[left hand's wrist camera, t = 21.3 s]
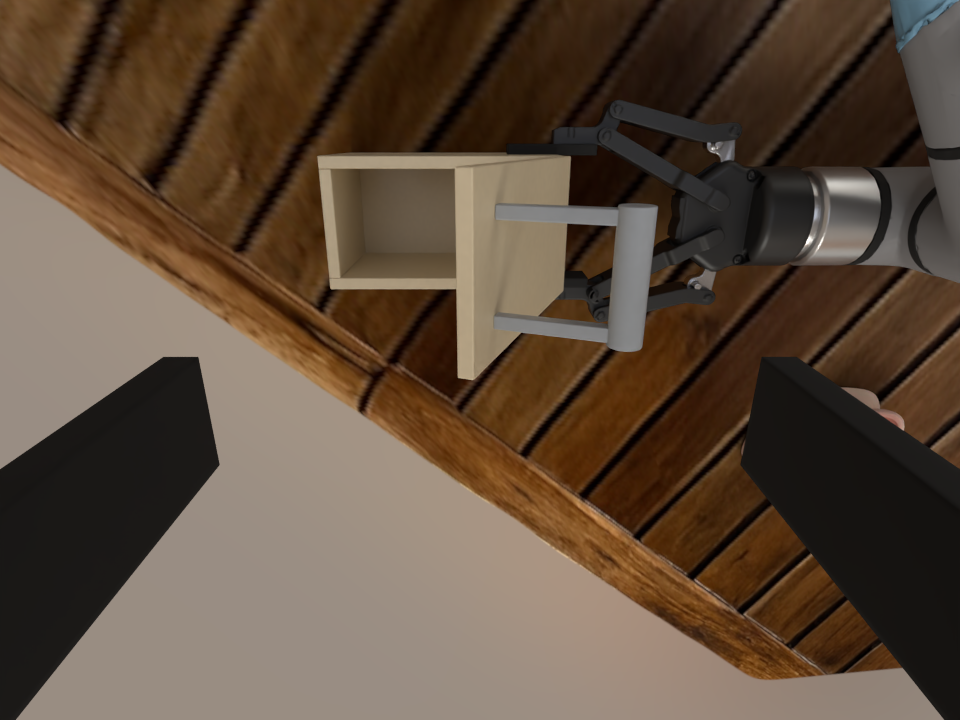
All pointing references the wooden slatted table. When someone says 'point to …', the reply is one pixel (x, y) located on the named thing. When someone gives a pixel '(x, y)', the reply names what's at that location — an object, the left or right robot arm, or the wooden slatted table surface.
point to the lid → (537, 259)
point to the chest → (393, 217)
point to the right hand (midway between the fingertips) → (506, 216)
